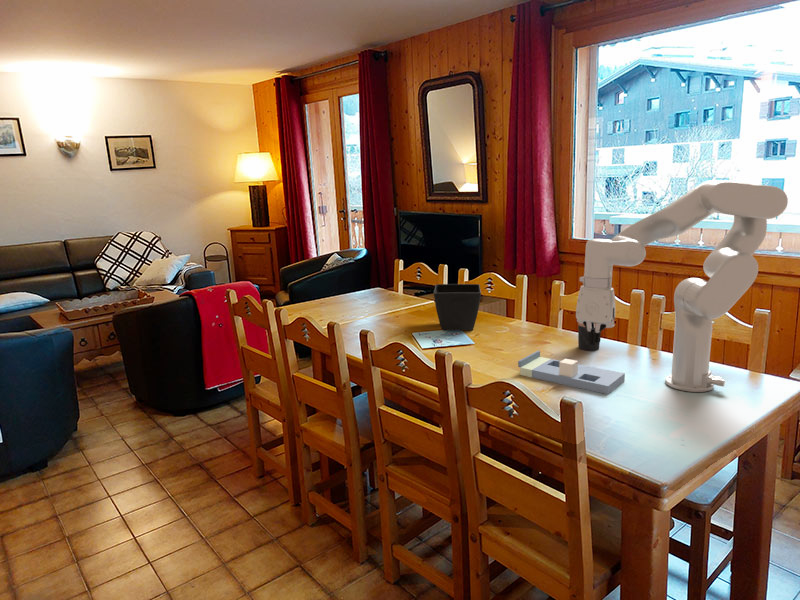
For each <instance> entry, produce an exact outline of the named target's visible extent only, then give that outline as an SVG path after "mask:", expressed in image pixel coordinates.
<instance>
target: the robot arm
mask: <svg viewBox="0 0 800 600" xmlns="http://www.w3.org/2000/svg"><path fill="white" fill-rule="evenodd" d="M788 200H789V199H788V196H787V194H786V192H785V191H784V190H783V189H782V188H780V187H778V186H775V185H765V184H756V183H747V182H746V183H745V182H739V181H732V180H723V179H722V180H719V179H718V180H715V179H714V180H711V179H710V180H707V181H704V182H701V183H700V184H698V185H696V186H695V187H694V188H693V189H690V190H689V191H688V192H686V193H685V194H684V195H682V196H680V197H679V198H677V199H676V200H675V201H673V202H671V203H670V204H668V205H667V206H666V207H664V208H662V209H660V210H658V211H657V212H654V213H653V214H650V215H649V216H646V217H644V218H642V219H641V220H639V221H637V222H635V223H633V224H631V225H630V226H628V227H627V228H625V229H624V230H622V231H620V232H619V233H617V234H616V235H614V236H613V237H612V238H611V239H607V238H592V239H588V240H587V241H586V244H585V255H584V256H585V257H584V273H583V276H580V277H579V282H581V283H582V285H580V288H579V291H578V295H577V302H576V308H575V318H576V323H578V322H579V323H581V324H584V326H585V327H586V328H587V331H589V335H588V341H589V345H593V346H596V345H597V344H599V343H601V336H602V335H601V334H602V331H604V330H605V329H611V328H614V327H615V319H616V296H615V295H616V294H615V289H614V287H612V282H613V269H614V268H613V267H614V266H622V267H635V266H638V265H639V264H641V263H642V262H644V260H645V259H646V256H647V252H646V248H645V247H646V246H648V245H649V244H652V243H654V242H656V241H659V240H663V239H670V238H672V237H677V236H680V235H682V234H684V233H685V232H688V230H690V229H691V228H693V227H694V226H696V225H697V224H699V223H700V222H702V221H704V220H705V219H707V218H709V216H711V215H713V214H714V213H716V214H723V215H729V216H733V223H732V226H731V228H730V229H729V231H728V233H726V235H725V236H724V237H723V238H722V239H721V241H720V242H719V243H718V245H716V246H715V248H714V249H713V250H712V251H711V252H710V254H709V255H708V256H706V258H705V259H704V262H703V267H702V268H703V272H704V273H705V275H706V276H707V277H708V278H709V280H705V279H702V278H699V277H690V278H685V279H683V280H681V281H680V282H679V283H678V285H677V286H676V287H675V289H674V295H673V303H674V304H673V305H674V317H675V318H674V332H673V333H674V335H673V350H672V363H671V374H669V375H668V376H666V377H665V384H666V385H667V386H669V387H670V388H672V389H675V390H678V391H683V392H689V393H704V392H709V391H712V390H713V389H714V387H715V386H718V387H723V388H724V387H725V386H726V385H725V383H726V380H725V379H723V377H720V376H715V375H713V374H712V370H710V369H709V368H710V359H711V358H710V357H711V347H712V337H713V336H712V335H713V320H716V319H718V318H721V317H723V316H724V315H725V314H726V313H728V311H730V310H731V308H733V306H735V304H736V303H737V302H738V301H739V300H741V298H742V296H743V295H744V294H745V293H746V292H747V291H748V290H749V288H751V287H752V285H753V284H754V282H755V281H756V279H757V277H758V273H759V264H758V261H757V259H756V258H755V256H753V255H754V254H755V253H756V252H757V250H758V249H759V247H761V245H762V243H763V242H764V240H765V238H766V235H767V227H768V223H767V222H768V221H767V220H771V219H775V218H776V217H779V216H781V214H783V213H784V212H785V210H786V209H787V206H788V204H789V203H788V202H789V201H788ZM594 323H597V324H596V328H595V324H594ZM599 345H600V344H599Z"/></svg>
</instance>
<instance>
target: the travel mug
mask: <svg viewBox="0 0 800 600" xmlns="http://www.w3.org/2000/svg"><path fill="white" fill-rule="evenodd" d="M577 323H578V324H577V326H578V328H577V330H578V334H577V335H578V337H577V339H578V342H577V344H578V347H577V348H578V349H580V350H582V351H589V352H594V351H598V350H599V349H600V343H601V342H600V343H599V344H597V345H596V346H593V345H589V341H588V335H589V331H587V328H586V327H585V326H584V324H581V323H579V322H577ZM594 324H595V328H596V324H597V323H594Z"/></svg>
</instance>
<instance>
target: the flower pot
mask: <svg viewBox="0 0 800 600" xmlns="http://www.w3.org/2000/svg"><path fill="white" fill-rule="evenodd" d="M480 286H481V285H480V284H478V283H477V284H475V283H469V284H468V283H449V284H448V283H441V284H439V283H437V284H435V285H434V290H433V299H434V305H435V310H436V314H437V318H438V322H439V325H440V328H441V330H442V331H473V330H474V327H475V325H476V321H477V318H478V313H479V309H480V303H481V298H482V297H481V295H482V290H481V287H480Z"/></svg>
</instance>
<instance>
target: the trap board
mask: <svg viewBox="0 0 800 600" xmlns="http://www.w3.org/2000/svg"><path fill="white" fill-rule="evenodd" d="M560 361H561V360H558V359H553V358H549V357H543V356H541V351H540V350H536V351H534V352H533V353H531V354H528V355H527V356H525V357H523V358H521V359H519V360H517V364H518V365H517V367H518V368H520V372H519V373H520V376H524V377H528V378H531V379H538V380H541V381H546V382H549V383H550V382H552V383H554V384H559V385H563V386H569V387H574V388H578V389H581V390H586V391H590V392H595V393H596V392H597V393H600V394H604V395H609V394H610V393H612V391H613V392H614V390H616V389H617V387H619V386H621V384H623V383H625V381H626V380H625V378H626V373H624V372H619V371H614V370H610V369H605V368H604V369H603V368H601V367H600V368H599V367H595V366H589V365H585V364H584V365H583V364H579V363H578V374H576V375H575V376H573V377H568V376H563V375H559V362H560Z"/></svg>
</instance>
